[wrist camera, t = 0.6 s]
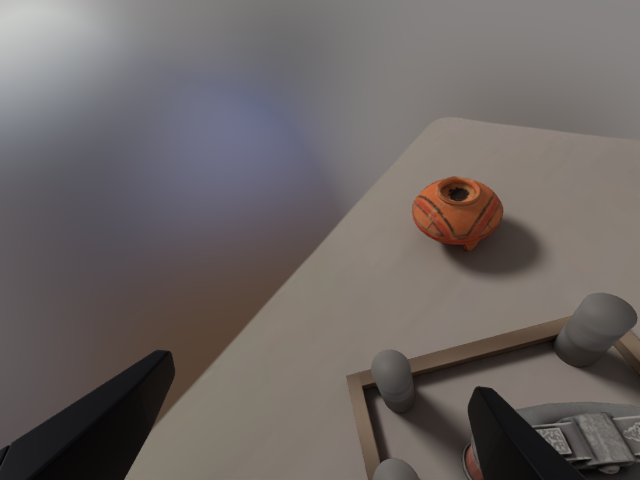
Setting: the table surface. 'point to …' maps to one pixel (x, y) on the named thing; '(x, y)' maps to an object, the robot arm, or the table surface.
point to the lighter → (582, 438)
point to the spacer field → (569, 344)
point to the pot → (457, 211)
